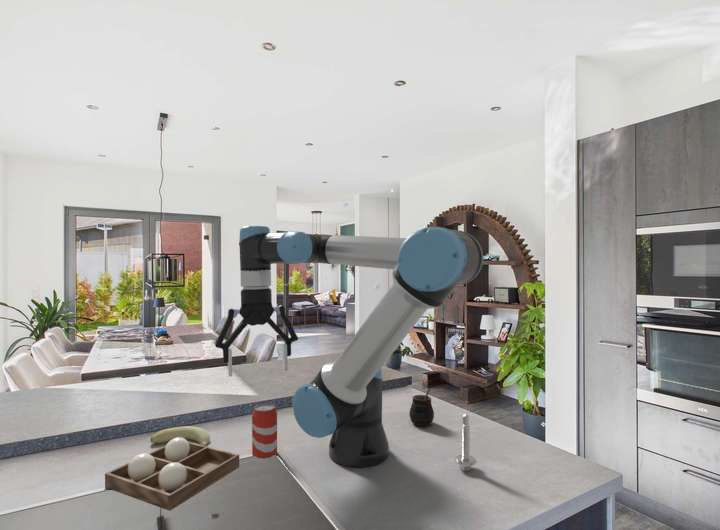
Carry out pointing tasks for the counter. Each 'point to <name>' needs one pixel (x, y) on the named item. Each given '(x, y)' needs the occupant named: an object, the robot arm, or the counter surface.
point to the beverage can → (264, 431)
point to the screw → (465, 447)
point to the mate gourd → (421, 410)
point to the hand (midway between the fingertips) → (258, 372)
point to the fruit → (182, 435)
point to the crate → (201, 473)
